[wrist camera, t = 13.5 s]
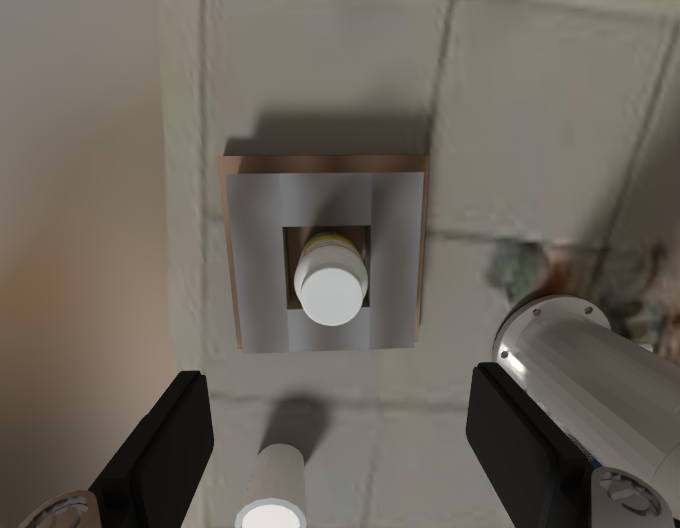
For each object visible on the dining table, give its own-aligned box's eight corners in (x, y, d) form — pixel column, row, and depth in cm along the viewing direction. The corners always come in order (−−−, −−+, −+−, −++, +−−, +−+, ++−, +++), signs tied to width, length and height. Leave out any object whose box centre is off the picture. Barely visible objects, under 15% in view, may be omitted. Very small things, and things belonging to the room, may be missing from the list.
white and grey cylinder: (250, 438, 35) (233, 499, 29) (311, 439, 36) (308, 499, 29) (250, 485, 37) (234, 553, 31) (307, 486, 38) (304, 552, 31)
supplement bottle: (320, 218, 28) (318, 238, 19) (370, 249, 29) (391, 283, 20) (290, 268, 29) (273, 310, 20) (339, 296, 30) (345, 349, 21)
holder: (424, 156, 28) (444, 151, 24) (413, 335, 33) (429, 361, 28) (222, 157, 28) (201, 152, 23) (241, 341, 32) (227, 369, 27)
